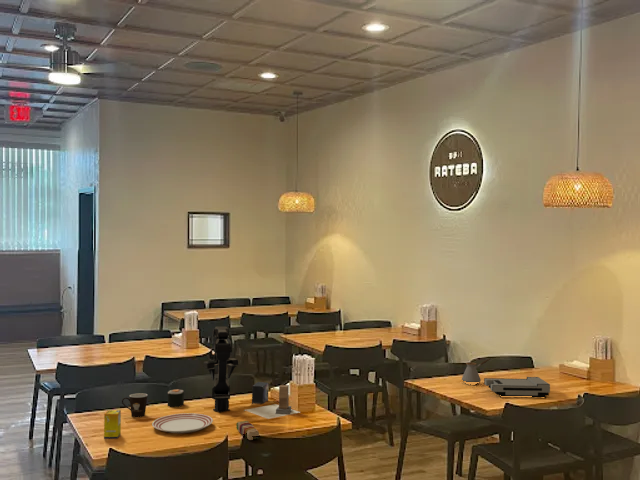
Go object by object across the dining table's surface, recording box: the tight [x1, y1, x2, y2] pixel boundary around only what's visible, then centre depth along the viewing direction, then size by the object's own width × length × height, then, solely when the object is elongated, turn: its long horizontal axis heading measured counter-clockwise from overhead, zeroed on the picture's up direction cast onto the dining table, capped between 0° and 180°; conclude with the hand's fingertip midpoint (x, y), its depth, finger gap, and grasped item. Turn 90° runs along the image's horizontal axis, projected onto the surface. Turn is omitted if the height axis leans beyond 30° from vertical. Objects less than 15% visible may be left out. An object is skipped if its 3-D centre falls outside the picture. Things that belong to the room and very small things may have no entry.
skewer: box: [235, 420, 260, 441], centre depth 288 cm, size 21×6×5 cm, turn 24°
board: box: [243, 403, 301, 420], centre depth 323 cm, size 20×21×1 cm
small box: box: [251, 381, 269, 405], centre depth 344 cm, size 11×6×10 cm, turn 168°
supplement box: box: [103, 409, 122, 440], centre depth 282 cm, size 6×6×11 cm
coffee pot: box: [461, 357, 493, 383], centre depth 400 cm, size 21×12×15 cm, turn 115°
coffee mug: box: [121, 392, 148, 418], centre depth 317 cm, size 12×9×10 cm
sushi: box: [167, 388, 185, 408], centre depth 338 cm, size 8×8×8 cm
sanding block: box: [276, 384, 292, 414], centre depth 322 cm, size 8×6×13 cm
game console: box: [483, 376, 551, 398], centre depth 373 cm, size 21×32×8 cm, turn 89°
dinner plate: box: [151, 412, 214, 434], centre depth 297 cm, size 27×27×3 cm
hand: (220, 379), depth 342 cm, fingers open, 9 cm apart
